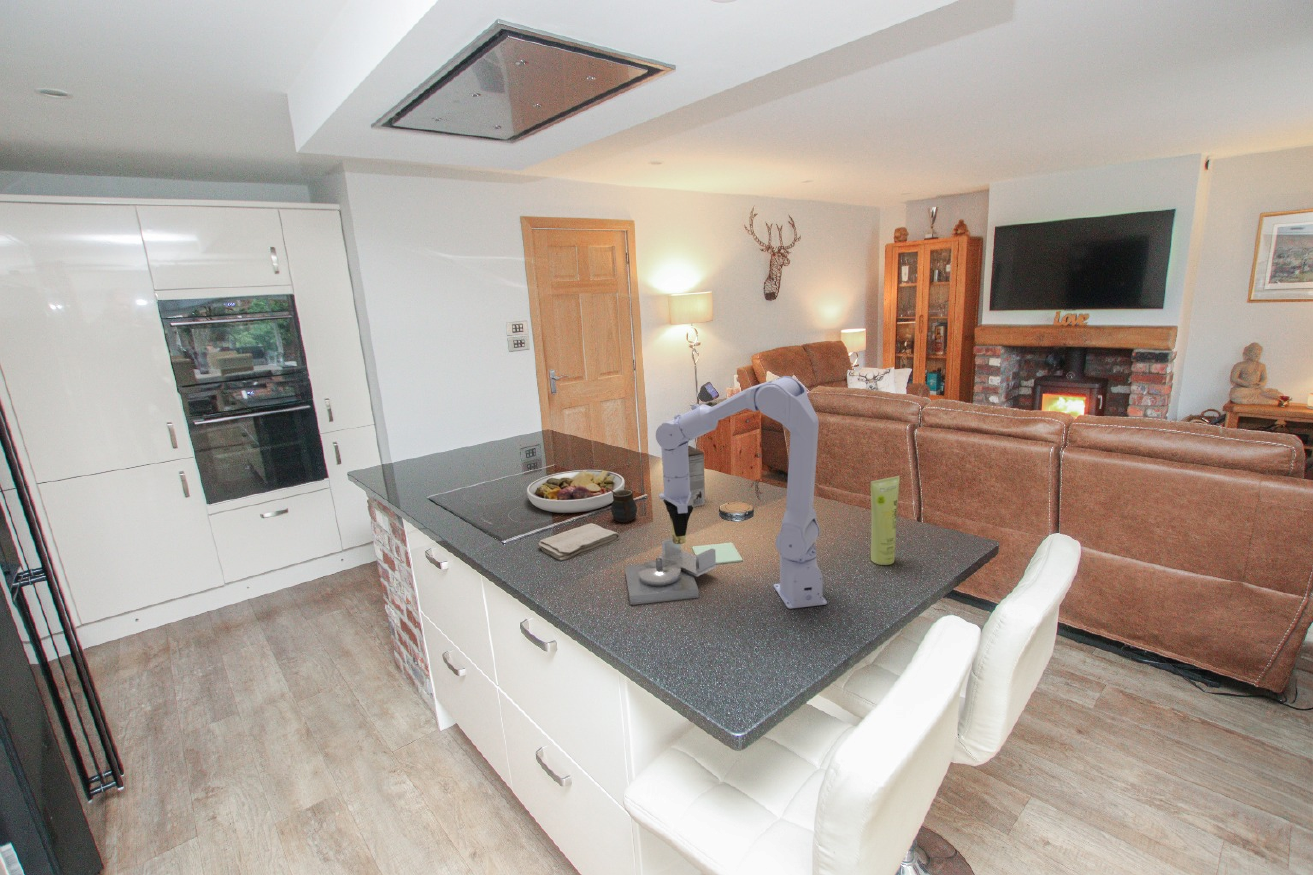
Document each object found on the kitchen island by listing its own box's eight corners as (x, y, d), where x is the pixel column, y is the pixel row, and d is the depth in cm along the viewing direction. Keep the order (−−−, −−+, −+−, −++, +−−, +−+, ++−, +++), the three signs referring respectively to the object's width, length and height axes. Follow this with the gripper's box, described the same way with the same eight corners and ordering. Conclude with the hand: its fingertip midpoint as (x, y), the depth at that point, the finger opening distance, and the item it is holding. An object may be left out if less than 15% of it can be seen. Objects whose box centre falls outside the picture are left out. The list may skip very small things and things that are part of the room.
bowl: (524, 491, 196) (521, 468, 194) (613, 479, 204) (611, 456, 203) (533, 523, 168) (530, 497, 166) (636, 507, 177) (634, 481, 175)
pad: (742, 561, 137) (742, 559, 137) (699, 565, 136) (699, 564, 136) (732, 543, 147) (732, 542, 147) (692, 547, 146) (691, 546, 146)
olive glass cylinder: (686, 543, 132) (685, 515, 131) (673, 544, 132) (671, 516, 131) (685, 538, 135) (683, 510, 134) (672, 539, 135) (670, 512, 133)
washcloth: (535, 550, 151) (534, 539, 150) (593, 529, 162) (592, 518, 162) (562, 564, 142) (560, 552, 141) (620, 540, 154) (619, 529, 153)
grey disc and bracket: (663, 592, 120) (662, 574, 119) (625, 573, 130) (624, 555, 129) (716, 567, 130) (716, 549, 129) (678, 550, 139) (677, 534, 138)
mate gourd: (641, 521, 165) (639, 487, 162) (615, 527, 162) (612, 492, 160) (633, 512, 171) (630, 479, 169) (607, 518, 169) (604, 484, 166)
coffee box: (672, 499, 180) (670, 448, 176) (691, 495, 183) (689, 444, 179) (686, 508, 172) (684, 455, 168) (706, 504, 175) (704, 451, 171)
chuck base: (698, 597, 122) (698, 588, 122) (630, 605, 121) (630, 596, 120) (687, 567, 136) (686, 559, 135) (625, 573, 134) (625, 565, 134)
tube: (892, 568, 130) (895, 483, 125) (867, 564, 132) (870, 480, 128) (896, 558, 135) (899, 475, 130) (872, 554, 137) (875, 473, 132)
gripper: (653, 466, 136) (657, 522, 140) (662, 486, 122) (666, 547, 126) (684, 463, 137) (687, 519, 140) (696, 482, 123) (698, 544, 126)
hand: (679, 532), depth 133 cm, fingers closed on olive glass cylinder, 3 cm apart
